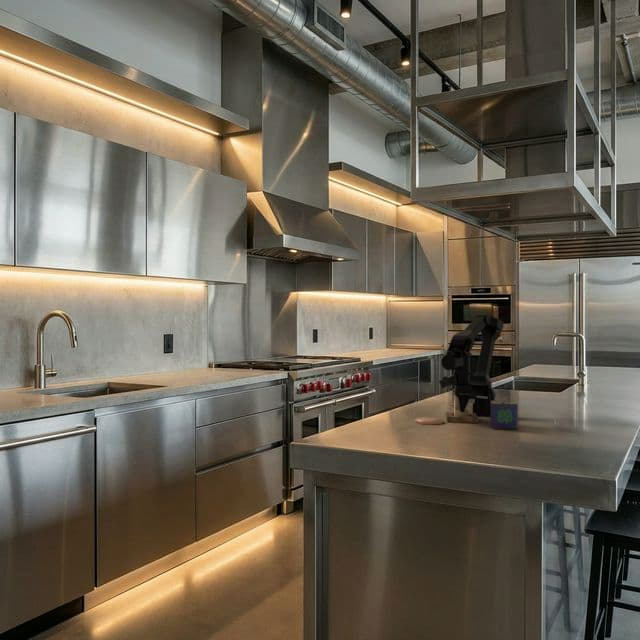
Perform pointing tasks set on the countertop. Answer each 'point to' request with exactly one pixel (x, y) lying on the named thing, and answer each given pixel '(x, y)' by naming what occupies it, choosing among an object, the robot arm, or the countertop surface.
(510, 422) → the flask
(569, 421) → the countertop surface
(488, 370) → the robot arm
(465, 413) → the maple block
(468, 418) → the pocket board
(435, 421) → the terracotta plate
